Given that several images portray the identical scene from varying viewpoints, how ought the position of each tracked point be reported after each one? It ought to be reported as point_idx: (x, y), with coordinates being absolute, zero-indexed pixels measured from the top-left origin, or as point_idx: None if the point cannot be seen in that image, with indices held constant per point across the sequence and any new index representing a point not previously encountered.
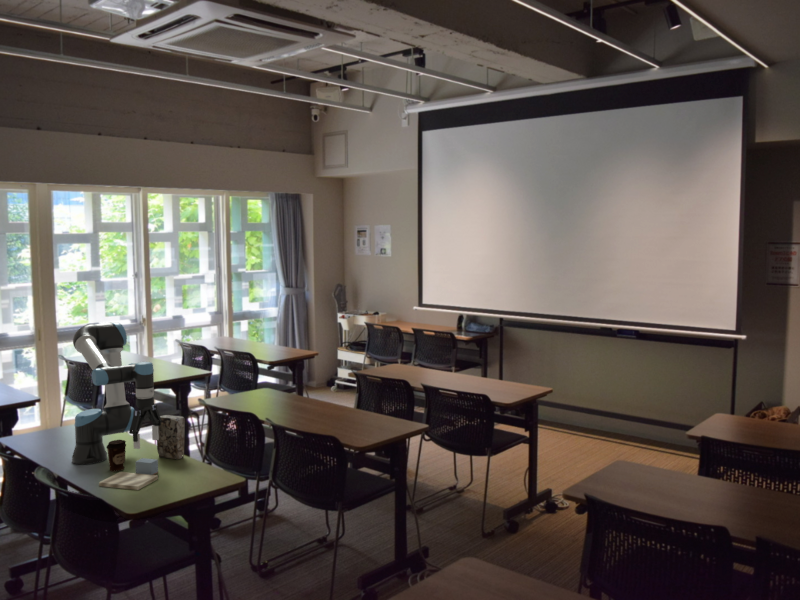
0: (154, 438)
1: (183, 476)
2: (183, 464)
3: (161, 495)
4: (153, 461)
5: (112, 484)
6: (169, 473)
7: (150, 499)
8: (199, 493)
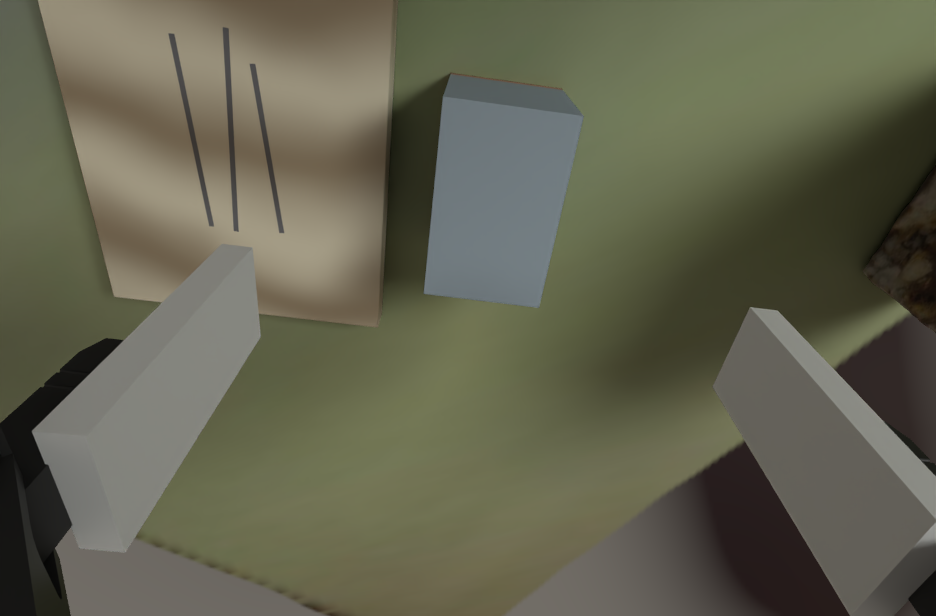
0: (744, 358)
1: (461, 436)
2: (726, 350)
3: None
4: (474, 294)
5: (53, 37)
6: (510, 338)
7: None
8: (235, 570)
